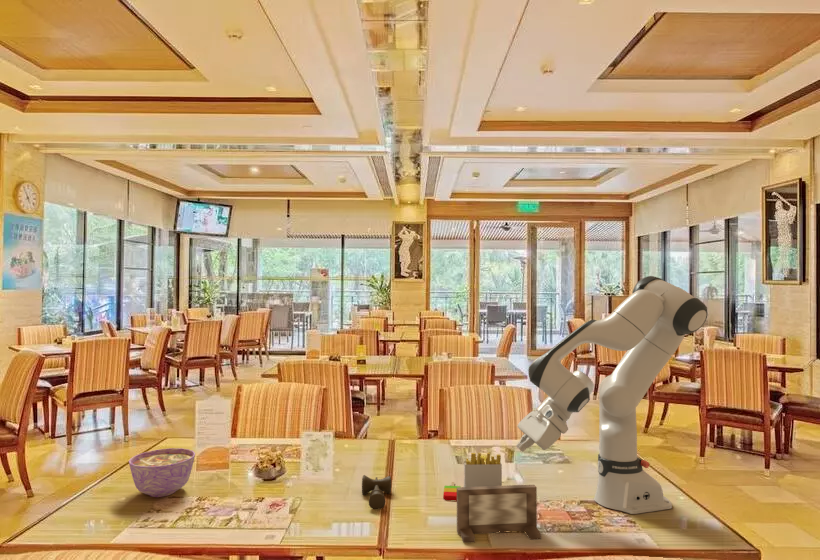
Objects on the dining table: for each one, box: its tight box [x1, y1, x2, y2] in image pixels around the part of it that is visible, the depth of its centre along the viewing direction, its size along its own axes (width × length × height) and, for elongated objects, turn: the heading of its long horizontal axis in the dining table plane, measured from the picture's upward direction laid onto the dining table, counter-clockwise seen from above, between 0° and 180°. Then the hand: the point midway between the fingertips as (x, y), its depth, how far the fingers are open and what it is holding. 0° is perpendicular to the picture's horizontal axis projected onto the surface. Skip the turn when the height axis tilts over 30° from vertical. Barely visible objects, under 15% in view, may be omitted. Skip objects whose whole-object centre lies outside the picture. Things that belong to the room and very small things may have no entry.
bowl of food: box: [128, 447, 196, 498], centre depth 179 cm, size 20×20×12 cm
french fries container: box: [463, 452, 503, 487], centre depth 163 cm, size 5×11×18 cm, turn 91°
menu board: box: [456, 484, 542, 544], centre depth 148 cm, size 22×7×12 cm, turn 96°
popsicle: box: [442, 481, 461, 502], centre depth 179 cm, size 6×15×2 cm, turn 174°
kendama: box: [361, 474, 392, 511], centre depth 175 cm, size 6×10×20 cm
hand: (519, 449), depth 164 cm, fingers closed
